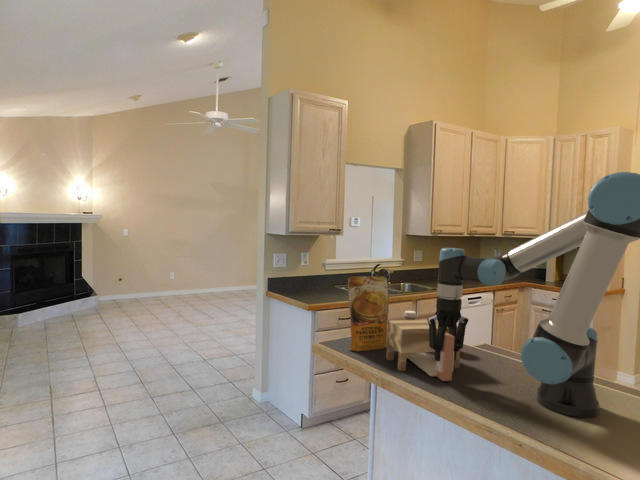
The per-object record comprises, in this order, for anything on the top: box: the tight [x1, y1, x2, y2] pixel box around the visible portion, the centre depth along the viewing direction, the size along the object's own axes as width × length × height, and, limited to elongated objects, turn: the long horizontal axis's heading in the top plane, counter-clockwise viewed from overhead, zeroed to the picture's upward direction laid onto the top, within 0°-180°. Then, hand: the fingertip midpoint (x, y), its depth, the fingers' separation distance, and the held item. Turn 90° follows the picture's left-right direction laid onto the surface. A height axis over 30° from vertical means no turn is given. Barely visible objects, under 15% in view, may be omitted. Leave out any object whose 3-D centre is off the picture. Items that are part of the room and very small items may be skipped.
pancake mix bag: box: [347, 275, 390, 352], centre depth 158 cm, size 7×19×28 cm, turn 112°
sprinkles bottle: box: [404, 310, 417, 320], centre depth 165 cm, size 5×5×14 cm
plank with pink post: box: [406, 333, 455, 382], centre depth 138 cm, size 22×7×14 cm, turn 14°
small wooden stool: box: [385, 319, 461, 372], centre depth 144 cm, size 12×22×14 cm, turn 103°
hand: (444, 370), depth 129 cm, fingers closed on plank with pink post, 3 cm apart
